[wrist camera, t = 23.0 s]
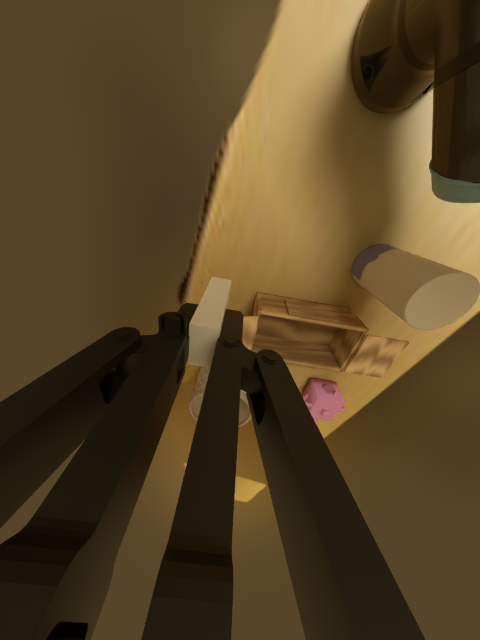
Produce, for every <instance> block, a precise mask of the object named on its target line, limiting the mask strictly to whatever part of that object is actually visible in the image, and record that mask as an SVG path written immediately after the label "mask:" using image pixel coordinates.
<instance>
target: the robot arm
mask: <svg viewBox="0 0 480 640" xmlns="http://www.w3.org/2000/svg"><path fill="white" fill-rule="evenodd" d="M351 68H352V79H353V84H354V88H355V91H356V93H357V95H358V97H359V99H360V100H361V102H362V103H363V104H364V105H365V106H366V107H367V108H368V109H370V110H372V111H374V112H377V113H392V112H396V111H399V110H402V109H404V108H406V107H407V106H409V105H411V104H413V103H414V102H416V101H418V100H419V99H421V98H422V97H423V96H425V95H426V94H427V93H428V92H430V91H431V90H432V89H433V88H434V90H433V127H432V159H431V161H430V164H429V169H430V173H431V181H432V191H433V192H434V194H435V195H436V197H437V198H439V199H441V200H444V201H448V202H454V203H480V0H370V1H369V3H368V5H367V7H366V9H365V11H364V13H363V16H362V18H361V20H360V23H359V26H358V29H357V32H356V36H355V40H354V45H353V51H352V64H351ZM231 281H232V280H228V279H222V278H217V277H212V278H211V280H210V282H209V284H208V286H207V289H206V291H205V293H204V295H203V297H202V299H201V301H200V303H199V305H197V304H191V303H186V304H184V305H182V306H181V307H180V309H179V311H178V312H166V313H163V314H161V315H160V316H159V317H158V320H159V332H158V333H157V334H155V335H142V336H141V335H140V332H139V331H138V330H137V329H135V328H131V327H122V328H118V329H115V330H113V331H111V332H110V333H108V334H107V335H105V336H104V337H102V338H100V339H99V340H97V341H96V342H94V343H92V344H91V345H89V346H88V347H86V348H85V349H83V350H81V351H80V352H78V353H77V354H75V355H74V356H72V357H70V358H69V359H67V360H66V361H64V362H63V363H61V364H59V365H58V366H56V367H55V368H53V369H52V370H50V371H48V372H47V373H45V374H44V375H42V376H41V377H39V378H38V379H36V380H34V381H33V382H31V383H30V384H28V385H27V386H25V387H23V388H22V389H20V390H19V391H17V392H16V393H14V394H12V395H11V396H9V397H8V398H6V399H4V400H3V401H1V402H0V528H1V527H2V526H3V524H5V523H6V522H7V520H8V519H9V518H10V517H11V516H12V515H13V514H14V513H15V512H16V511H17V510H18V509H19V508H20V507H21V506H22V505H23V504H24V503H25V502H26V500H28V499H29V497H30V496H31V495H32V494H33V493H34V492H35V491H36V490H37V489H38V488H39V487H40V486H41V485H42V484H43V483H44V482H45V481H46V480H47V479H48V477H49V476H50V475H51V474H52V473H53V472H54V471H55V470H56V469H57V468H58V467H59V466H60V465H61V464H62V463H63V462H64V461H65V460H66V459H67V458H68V457H69V455H70V454H71V453H72V452H73V451H74V450H75V449H76V448H77V447H78V446H79V445H80V444H81V443H82V442H83V441H84V440H85V441H84V442H83V444H82V445H81V447H80V448H79V450H78V451H77V453H76V454H75V455H74V457H73V458H72V460H71V461H70V463H69V464H68V466H67V467H66V469H65V470H64V472H63V473H62V475H61V476H60V477H59V479H58V480H57V482H56V483H55V485H54V486H53V488H52V489H51V491H50V492H49V494H48V495H47V496H46V498H45V500H44V501H43V502H42V504H41V505H40V507H39V508H38V510H37V511H36V513H35V514H34V516H33V517H32V518H31V520H30V521H29V522H28V523H27V525H26V526H25V527H24V528H23V529H22V530H21V531H20V532H19V533H17V534H15V535H14V536H12V537H11V538H9V539H8V540H6V541H5V542H3V543H2V544H0V640H91V638H92V635H93V632H94V629H95V626H96V624H97V621H98V618H99V615H100V613H101V610H102V607H103V604H104V601H105V598H106V595H107V592H108V590H109V586H110V582H111V578H112V574H113V568H114V563H115V560H116V556H117V554H118V551H119V548H120V545H121V542H122V540H123V537H124V534H125V532H126V529H127V526H128V524H129V521H130V518H131V516H132V513H133V510H134V507H135V505H136V502H137V500H138V497H139V494H140V492H141V489H142V486H143V483H144V481H145V478H146V475H147V473H148V470H149V467H150V465H151V462H152V459H153V456H154V454H155V451H156V449H157V446H158V443H159V441H160V438H161V435H162V432H163V430H164V427H165V424H166V422H167V419H168V416H169V413H170V411H171V408H172V406H173V403H174V400H175V398H176V395H177V392H178V390H179V387H180V384H181V382H182V379H183V376H184V373H185V365H186V362H187V360H188V365H193V366H199V367H206V368H210V371H209V375H208V379H207V383H206V388H205V392H204V396H203V400H202V404H201V408H200V412H199V417H198V421H197V425H196V429H195V433H194V438H193V441H192V445H191V450H190V454H189V458H188V462H187V466H186V471H185V475H184V479H183V483H182V487H181V491H180V495H179V499H178V504H177V507H176V512H175V516H174V520H173V524H172V528H171V532H170V536H169V540H168V544H167V547H166V550H165V553H164V556H163V559H162V562H161V565H160V569H159V573H158V576H157V580H156V584H155V588H154V591H153V596H152V599H151V604H150V607H149V611H148V615H147V619H146V623H145V628H144V631H143V636H142V639H141V640H231V627H232V626H231V625H232V605H233V564H232V527H233V510H234V494H235V477H236V459H237V441H238V425H239V407H240V390H243V391H245V392H246V396H247V400H248V404H249V408H250V412H251V417H252V421H253V425H254V428H255V433H256V437H257V441H258V445H259V449H260V453H261V457H262V461H263V466H264V470H265V474H266V478H267V482H268V486H269V490H270V494H271V498H272V502H273V507H274V511H275V515H276V519H277V523H278V527H279V531H280V535H281V539H282V543H283V548H284V552H285V556H286V560H287V564H288V568H289V572H290V576H291V580H292V585H293V589H294V593H295V597H296V601H297V605H298V609H299V613H300V618H301V622H302V626H303V630H304V634H305V638H306V640H425V638H424V636H423V634H422V633H421V630H420V628H419V626H418V624H417V622H416V620H415V619H414V616H413V614H412V613H411V611H410V609H409V607H408V605H407V603H406V601H405V599H404V597H403V595H402V593H401V591H400V589H399V587H398V585H397V583H396V581H395V579H394V577H393V575H392V573H391V571H390V569H389V567H388V565H387V563H386V561H385V559H384V557H383V555H382V553H381V551H380V549H379V547H378V546H377V543H376V542H375V539H374V537H373V536H372V534H371V532H370V530H369V528H368V526H367V524H366V522H365V520H364V518H363V516H362V514H361V512H360V510H359V508H358V506H357V504H356V502H355V500H354V498H353V496H352V494H351V492H350V490H349V488H348V486H347V484H346V482H345V480H344V478H343V476H342V474H341V473H340V470H339V469H338V467H337V465H336V462H335V460H334V459H333V457H332V455H331V453H330V451H329V449H328V447H327V445H326V443H325V441H324V439H323V437H322V435H321V433H320V431H319V429H318V427H317V425H316V423H315V421H314V419H313V417H312V415H311V413H310V411H309V409H308V407H307V405H306V403H305V401H304V399H303V397H302V395H301V393H300V391H299V389H298V387H297V385H296V383H295V382H294V380H293V378H292V376H291V374H290V372H289V370H288V368H287V366H286V364H285V362H284V360H283V358H282V357H281V355H280V354H278V353H277V352H275V351H273V350H269V349H263V350H260V351H258V353H256V352H253V351H251V350H249V349H248V348H246V347H245V346H244V344H243V342H242V333H243V317H244V316H243V314H242V313H241V312H240V311H235V310H229V309H227V307H228V300H229V294H230V288H231ZM112 369H113V370H112ZM111 370H112V371H111Z"/></svg>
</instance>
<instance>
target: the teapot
mask: <svg viewBox="0 0 480 640" xmlns="http://www.w3.org/2000/svg"><path fill="white" fill-rule="evenodd" d="M302 397H303V399H304V401H305V403H306V405H307V407H308V409H309V411H310V413H311V415H312V417H313V419H314V421H315V423H316V425H317V421H318V419H322V420H329V421H331V420H332V419H333V418H334V417H335V415H336V414H337V413H338V412H342V411H345V410H346V407H345V406H344V403H345V401H344V398H343V396H342V394H341V392H340V390H339V388H338V385H337V383H336V382H333V381H327V380H321V379H315V378H311V379H310V380H309V383H308V385H307V387H306V388H305V389H304V392H303V394H302Z"/></svg>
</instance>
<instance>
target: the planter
mask: <svg viewBox="0 0 480 640" xmlns="http://www.w3.org/2000/svg"><path fill="white" fill-rule="evenodd" d="M209 371H210V368H206V367H201V369H200V371H199V374H198V378H197V381H196V385H195V388H194V391H193V395H192V398H191V401H190V405H189V410H190V413H191V415H192V416H193V417H194V418H195V419H196V420H197V421H198V417H199V412H200V408H201V404H202V400H203V396H204V392H205V388H206V383H207V379H208V375H209ZM250 419H251V412H250V408H249V404H248V400H247V396H246V392H245V391H243V390H240V407H239V425H238V427H240V426H242V425H244V424H245V423H247V422H248V421H249V420H250Z"/></svg>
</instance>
